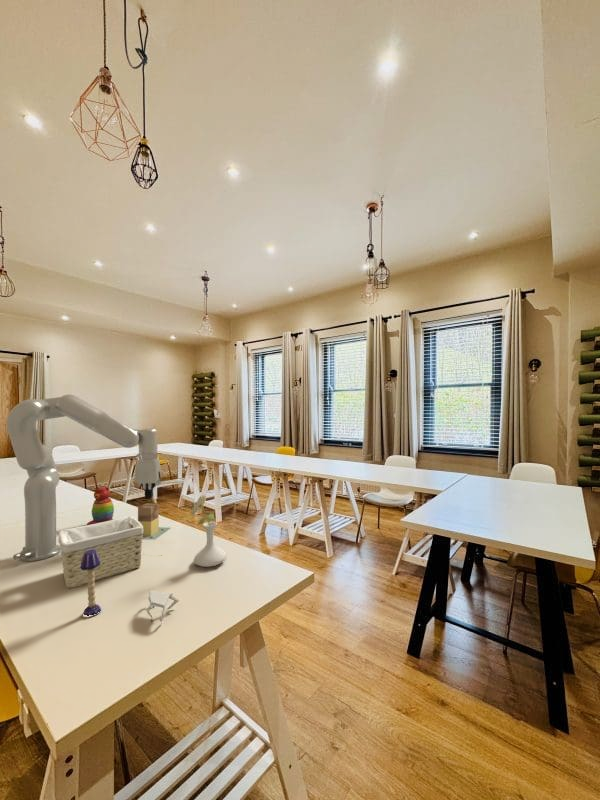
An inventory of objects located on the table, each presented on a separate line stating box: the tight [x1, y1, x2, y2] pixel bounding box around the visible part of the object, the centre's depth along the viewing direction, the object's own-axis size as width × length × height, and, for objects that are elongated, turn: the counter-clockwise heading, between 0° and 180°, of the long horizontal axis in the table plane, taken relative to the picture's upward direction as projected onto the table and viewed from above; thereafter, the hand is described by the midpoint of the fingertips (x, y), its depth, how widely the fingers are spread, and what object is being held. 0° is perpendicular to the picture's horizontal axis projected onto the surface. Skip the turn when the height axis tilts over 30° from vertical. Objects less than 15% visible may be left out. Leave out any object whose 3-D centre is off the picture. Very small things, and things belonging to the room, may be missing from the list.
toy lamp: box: [80, 550, 102, 616], centre depth 92 cm, size 5×5×17 cm
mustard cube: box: [139, 516, 160, 536], centre depth 149 cm, size 6×6×6 cm
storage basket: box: [57, 516, 143, 589], centre depth 117 cm, size 24×16×15 cm
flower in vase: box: [190, 494, 227, 568], centre depth 121 cm, size 13×11×25 cm
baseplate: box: [142, 526, 172, 541], centre depth 149 cm, size 14×14×1 cm
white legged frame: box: [146, 589, 180, 623], centre depth 91 cm, size 12×8×5 cm
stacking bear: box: [86, 486, 115, 526], centre depth 164 cm, size 11×10×18 cm
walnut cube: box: [137, 503, 159, 522], centre depth 149 cm, size 6×6×6 cm
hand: (148, 498), depth 149 cm, fingers closed
